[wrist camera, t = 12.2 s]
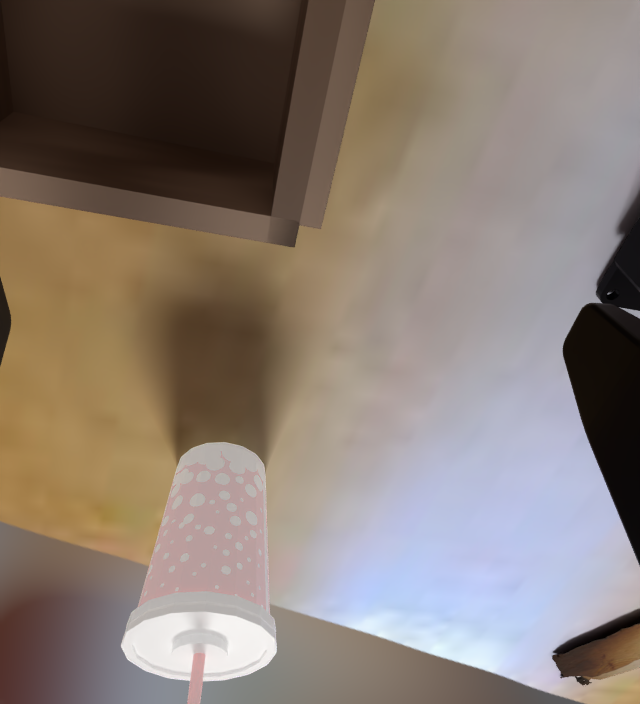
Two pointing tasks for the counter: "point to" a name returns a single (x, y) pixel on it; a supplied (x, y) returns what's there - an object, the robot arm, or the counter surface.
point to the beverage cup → (208, 574)
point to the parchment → (602, 656)
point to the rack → (179, 108)
